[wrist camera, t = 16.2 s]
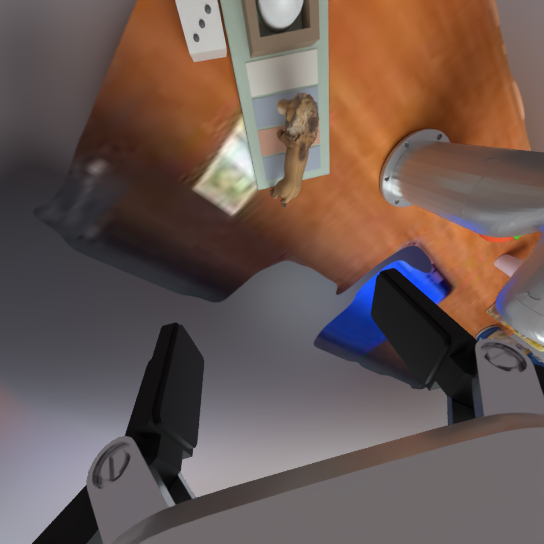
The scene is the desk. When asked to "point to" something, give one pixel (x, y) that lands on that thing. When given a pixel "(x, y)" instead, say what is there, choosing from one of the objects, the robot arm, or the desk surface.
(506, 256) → the smoothie
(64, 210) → the desk surface
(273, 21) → the dome button
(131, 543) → the robot arm
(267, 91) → the game board
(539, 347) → the drink carton
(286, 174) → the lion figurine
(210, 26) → the ivory die
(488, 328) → the beverage bottle
